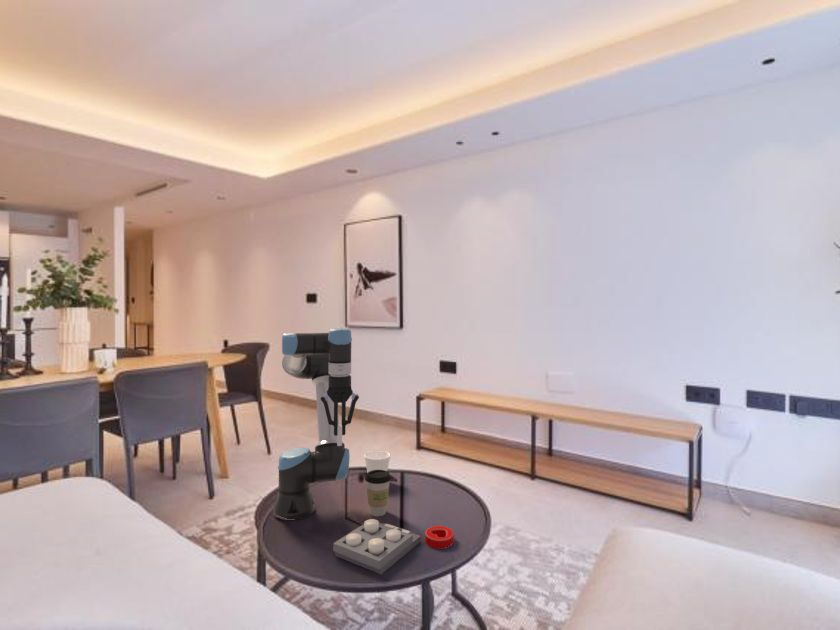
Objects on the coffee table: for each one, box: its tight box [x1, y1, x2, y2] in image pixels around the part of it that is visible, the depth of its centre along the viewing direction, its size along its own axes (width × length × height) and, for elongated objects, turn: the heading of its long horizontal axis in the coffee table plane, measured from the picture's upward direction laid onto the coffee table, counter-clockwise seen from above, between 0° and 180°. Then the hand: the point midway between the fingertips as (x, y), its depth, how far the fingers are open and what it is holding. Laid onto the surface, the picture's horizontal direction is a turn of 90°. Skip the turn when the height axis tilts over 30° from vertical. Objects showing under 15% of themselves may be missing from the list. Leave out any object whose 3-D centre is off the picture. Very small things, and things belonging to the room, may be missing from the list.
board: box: [332, 521, 422, 575], centre depth 149 cm, size 18×23×4 cm
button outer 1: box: [368, 538, 384, 556], centre depth 140 cm, size 5×5×3 cm
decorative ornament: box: [424, 525, 455, 550], centre depth 154 cm, size 10×10×3 cm
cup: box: [363, 450, 391, 473], centre depth 204 cm, size 12×12×12 cm
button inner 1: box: [345, 533, 361, 547], centre depth 145 cm, size 5×5×3 cm
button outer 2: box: [386, 529, 401, 543], centre depth 148 cm, size 5×5×3 cm
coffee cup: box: [364, 470, 392, 517], centre depth 175 cm, size 10×10×15 cm
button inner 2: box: [363, 518, 380, 535], centre depth 153 cm, size 5×5×3 cm
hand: (339, 444), depth 154 cm, fingers closed
